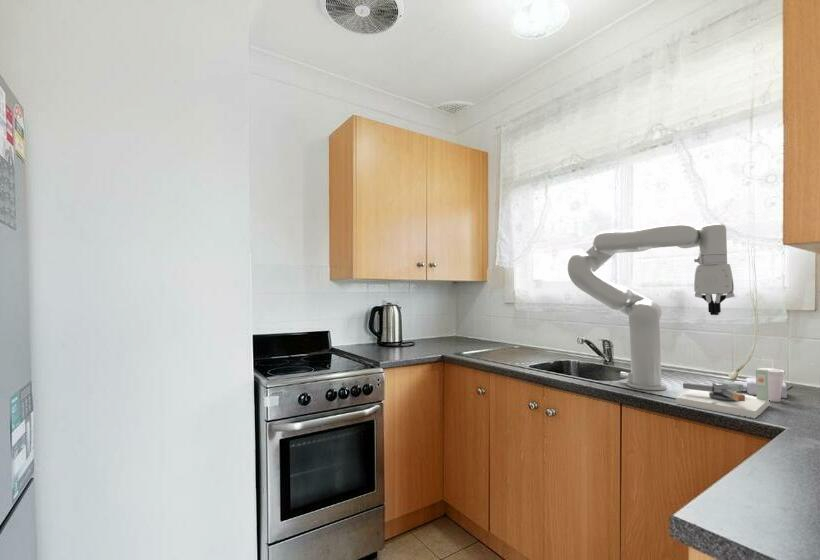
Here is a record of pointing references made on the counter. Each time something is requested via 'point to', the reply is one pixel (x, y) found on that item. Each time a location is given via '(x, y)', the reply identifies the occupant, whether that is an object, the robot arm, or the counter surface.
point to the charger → (751, 387)
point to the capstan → (719, 390)
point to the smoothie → (775, 382)
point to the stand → (742, 408)
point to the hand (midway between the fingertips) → (714, 314)
